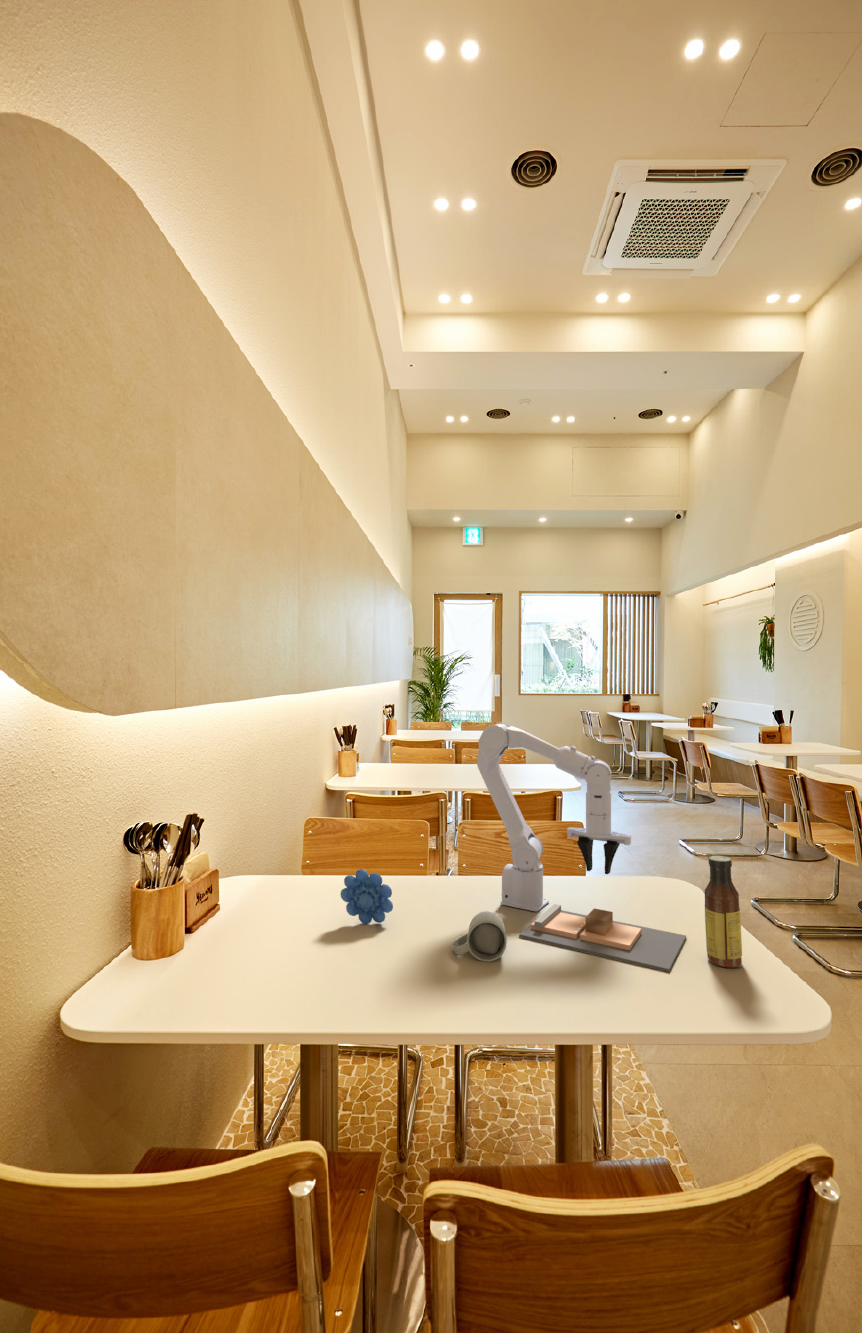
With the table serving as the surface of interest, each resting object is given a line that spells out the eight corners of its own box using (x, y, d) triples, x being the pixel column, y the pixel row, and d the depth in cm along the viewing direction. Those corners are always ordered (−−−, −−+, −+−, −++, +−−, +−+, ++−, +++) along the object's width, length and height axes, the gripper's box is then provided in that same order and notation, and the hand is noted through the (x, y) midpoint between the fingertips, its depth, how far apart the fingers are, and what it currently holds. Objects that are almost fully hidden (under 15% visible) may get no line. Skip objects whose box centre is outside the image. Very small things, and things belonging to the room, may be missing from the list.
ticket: (529, 930, 134) (529, 920, 134) (549, 912, 144) (549, 903, 144) (574, 940, 129) (574, 929, 129) (592, 921, 139) (592, 911, 139)
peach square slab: (580, 939, 129) (580, 919, 129) (594, 923, 138) (594, 905, 138) (629, 950, 124) (629, 930, 124) (641, 933, 133) (641, 914, 133)
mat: (519, 937, 132) (519, 934, 132) (549, 910, 147) (549, 907, 147) (669, 972, 116) (669, 969, 116) (686, 938, 132) (686, 935, 132)
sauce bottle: (739, 957, 123) (739, 855, 123) (744, 971, 117) (743, 864, 117) (703, 953, 125) (702, 852, 125) (706, 966, 119) (705, 860, 119)
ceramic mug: (504, 944, 128) (504, 906, 128) (507, 962, 120) (506, 922, 120) (453, 944, 129) (452, 906, 129) (451, 961, 121) (451, 921, 121)
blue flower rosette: (337, 931, 134) (337, 875, 135) (341, 919, 141) (342, 866, 141) (392, 931, 135) (392, 875, 135) (393, 919, 141) (393, 866, 142)
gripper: (634, 813, 147) (634, 872, 146) (573, 806, 154) (573, 862, 154) (626, 819, 141) (626, 880, 140) (564, 811, 148) (564, 869, 148)
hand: (598, 871), depth 147 cm, fingers open, 4 cm apart
